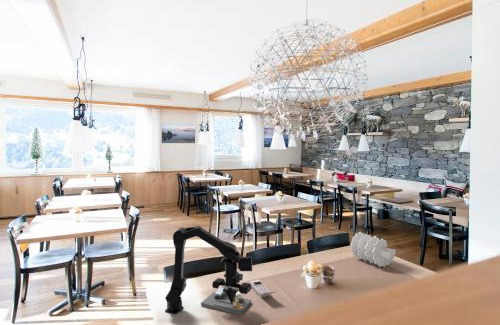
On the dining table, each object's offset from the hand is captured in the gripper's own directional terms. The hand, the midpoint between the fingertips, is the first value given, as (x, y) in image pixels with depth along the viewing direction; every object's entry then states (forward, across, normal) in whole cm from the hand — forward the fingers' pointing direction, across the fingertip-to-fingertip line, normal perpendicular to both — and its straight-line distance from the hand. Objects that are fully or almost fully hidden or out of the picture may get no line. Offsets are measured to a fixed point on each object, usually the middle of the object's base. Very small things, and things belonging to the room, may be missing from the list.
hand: (232, 302), depth 148 cm
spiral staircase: (+4, -58, -87) cm, 105 cm away
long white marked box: (+4, -7, -21) cm, 22 cm away
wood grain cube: (+1, -2, 0) cm, 3 cm away
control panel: (+3, +5, -3) cm, 7 cm away
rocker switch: (-1, +10, -6) cm, 12 cm away
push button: (0, 0, -6) cm, 6 cm away
